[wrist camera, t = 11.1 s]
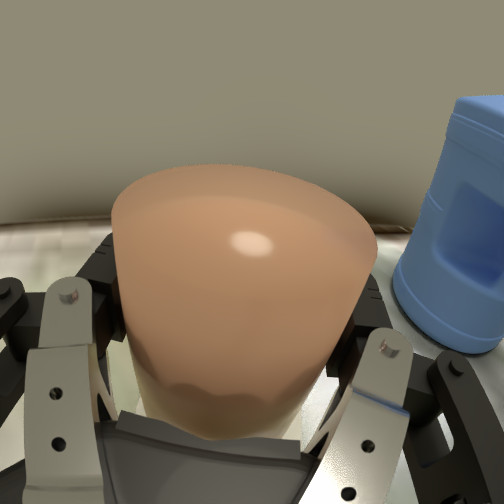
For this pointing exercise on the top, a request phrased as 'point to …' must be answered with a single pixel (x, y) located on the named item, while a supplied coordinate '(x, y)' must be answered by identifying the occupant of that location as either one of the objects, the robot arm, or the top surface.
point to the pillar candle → (234, 293)
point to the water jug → (461, 235)
